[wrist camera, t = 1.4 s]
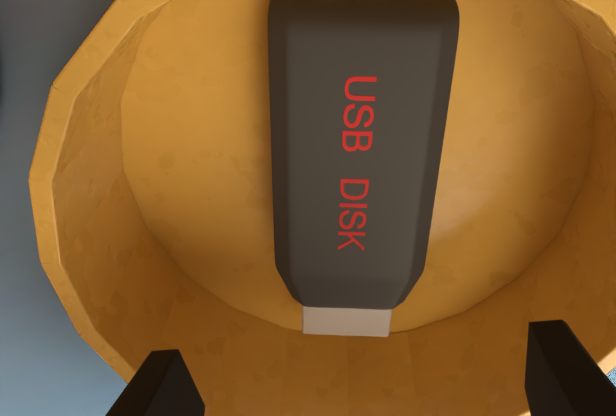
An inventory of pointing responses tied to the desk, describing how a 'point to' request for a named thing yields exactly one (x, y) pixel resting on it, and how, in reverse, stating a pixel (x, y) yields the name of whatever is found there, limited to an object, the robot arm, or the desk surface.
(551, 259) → the tin
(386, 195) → the usb drive
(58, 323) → the desk surface
